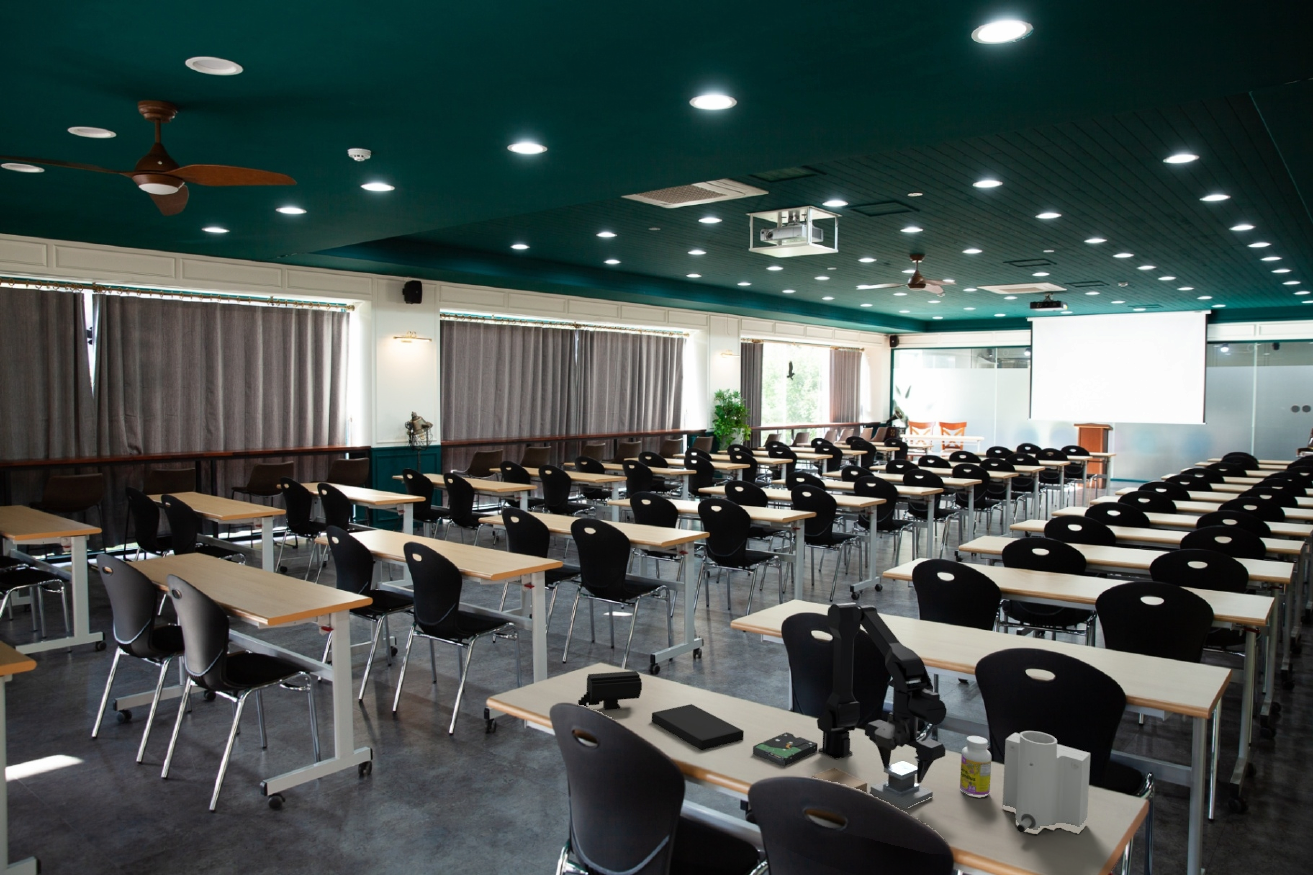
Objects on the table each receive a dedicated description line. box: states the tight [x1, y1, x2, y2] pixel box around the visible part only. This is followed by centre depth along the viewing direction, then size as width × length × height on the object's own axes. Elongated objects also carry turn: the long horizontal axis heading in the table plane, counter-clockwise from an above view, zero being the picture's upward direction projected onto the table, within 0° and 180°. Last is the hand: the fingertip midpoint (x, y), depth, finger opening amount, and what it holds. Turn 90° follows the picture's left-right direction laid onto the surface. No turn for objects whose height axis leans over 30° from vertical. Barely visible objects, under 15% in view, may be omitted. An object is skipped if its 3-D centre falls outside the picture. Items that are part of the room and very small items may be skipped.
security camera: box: [577, 670, 643, 711], centre depth 250 cm, size 7×18×10 cm, turn 107°
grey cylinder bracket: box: [1002, 730, 1091, 834], centre depth 185 cm, size 16×19×20 cm
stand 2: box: [869, 779, 934, 810], centre depth 199 cm, size 10×10×2 cm
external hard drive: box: [651, 703, 745, 751], centre depth 235 cm, size 14×23×3 cm, turn 35°
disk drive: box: [752, 731, 819, 768], centre depth 222 cm, size 10×3×15 cm
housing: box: [883, 760, 920, 797], centre depth 199 cm, size 7×5×5 cm
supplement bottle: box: [959, 735, 992, 795], centre depth 201 cm, size 7×7×13 cm
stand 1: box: [811, 767, 868, 792], centre depth 202 cm, size 10×8×2 cm
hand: (902, 775), depth 199 cm, fingers open, 9 cm apart
